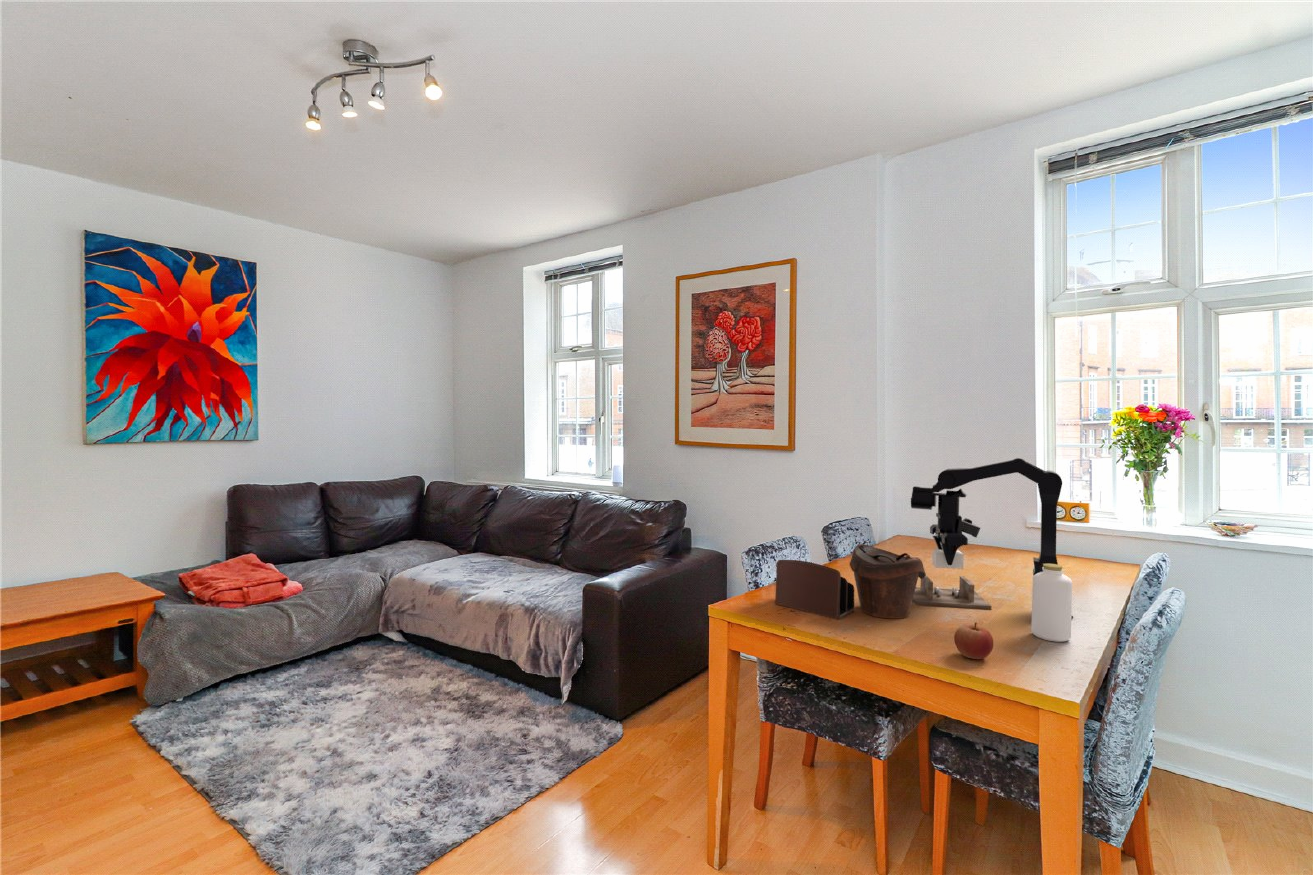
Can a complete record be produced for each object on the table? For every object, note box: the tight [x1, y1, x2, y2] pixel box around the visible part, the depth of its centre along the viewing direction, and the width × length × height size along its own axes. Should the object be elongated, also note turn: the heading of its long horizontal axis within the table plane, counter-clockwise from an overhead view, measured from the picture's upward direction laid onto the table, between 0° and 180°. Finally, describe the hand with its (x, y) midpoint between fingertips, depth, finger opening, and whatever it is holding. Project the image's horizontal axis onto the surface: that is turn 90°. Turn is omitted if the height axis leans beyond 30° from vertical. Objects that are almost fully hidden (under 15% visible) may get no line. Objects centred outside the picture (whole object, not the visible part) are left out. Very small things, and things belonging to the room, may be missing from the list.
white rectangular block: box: [931, 548, 965, 570], centre depth 184 cm, size 8×5×4 cm, turn 78°
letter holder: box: [774, 559, 855, 620], centre depth 174 cm, size 10×20×14 cm, turn 48°
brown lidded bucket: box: [849, 543, 927, 620], centre depth 171 cm, size 18×20×18 cm
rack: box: [912, 575, 992, 610], centre depth 184 cm, size 16×20×6 cm
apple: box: [953, 622, 994, 660], centre depth 139 cm, size 8×8×8 cm
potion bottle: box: [1031, 564, 1073, 643], centre depth 152 cm, size 8×8×18 cm
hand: (947, 562), depth 184 cm, fingers closed on white rectangular block, 5 cm apart
